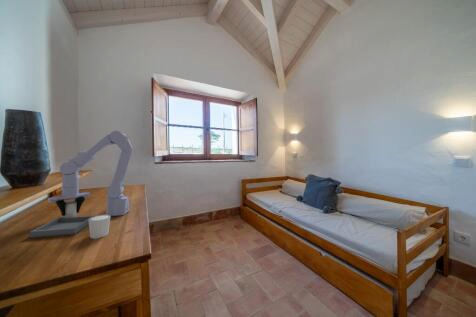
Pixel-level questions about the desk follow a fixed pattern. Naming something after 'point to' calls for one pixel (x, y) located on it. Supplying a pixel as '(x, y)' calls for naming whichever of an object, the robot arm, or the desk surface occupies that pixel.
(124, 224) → the desk surface
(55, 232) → the tray
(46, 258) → the desk surface
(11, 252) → the desk surface
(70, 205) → the shaker
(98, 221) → the white cup
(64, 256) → the desk surface
